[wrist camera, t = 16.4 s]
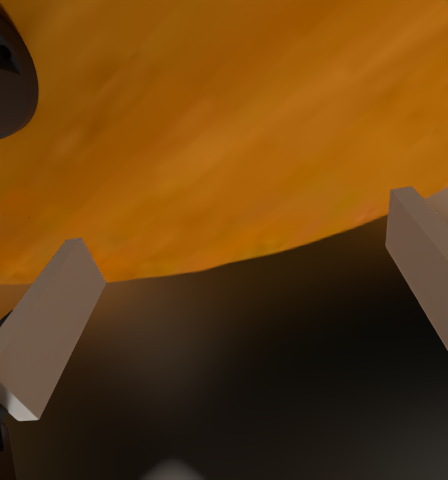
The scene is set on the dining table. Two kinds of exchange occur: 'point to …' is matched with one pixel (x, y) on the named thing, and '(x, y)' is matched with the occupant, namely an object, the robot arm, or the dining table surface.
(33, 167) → the dining table surface
